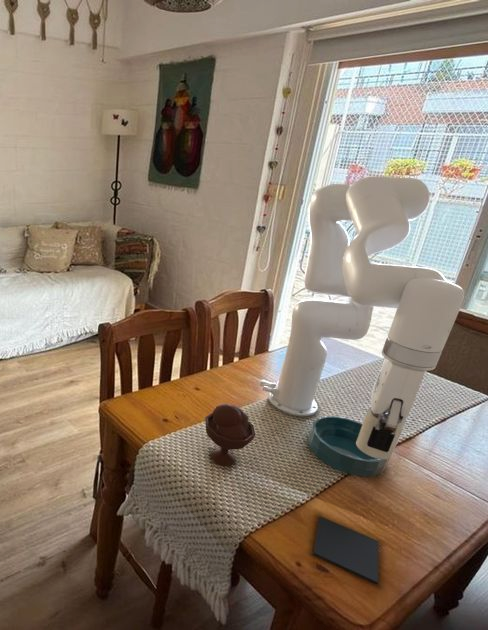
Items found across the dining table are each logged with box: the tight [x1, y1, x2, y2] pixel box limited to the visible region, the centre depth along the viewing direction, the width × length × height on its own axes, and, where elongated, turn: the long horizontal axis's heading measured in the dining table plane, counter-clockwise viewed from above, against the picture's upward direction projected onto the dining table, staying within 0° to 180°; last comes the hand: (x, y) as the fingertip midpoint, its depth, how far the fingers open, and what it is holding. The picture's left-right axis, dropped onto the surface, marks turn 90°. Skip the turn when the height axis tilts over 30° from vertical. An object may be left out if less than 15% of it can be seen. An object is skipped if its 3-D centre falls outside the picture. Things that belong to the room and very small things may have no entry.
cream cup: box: [356, 406, 406, 460], centre depth 80 cm, size 6×6×8 cm
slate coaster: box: [312, 515, 380, 585], centre depth 82 cm, size 10×10×1 cm
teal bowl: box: [307, 415, 391, 478], centre depth 105 cm, size 16×16×5 cm
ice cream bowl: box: [204, 403, 256, 467], centre depth 100 cm, size 11×11×15 cm
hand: (377, 437), depth 81 cm, fingers closed on cream cup, 5 cm apart
